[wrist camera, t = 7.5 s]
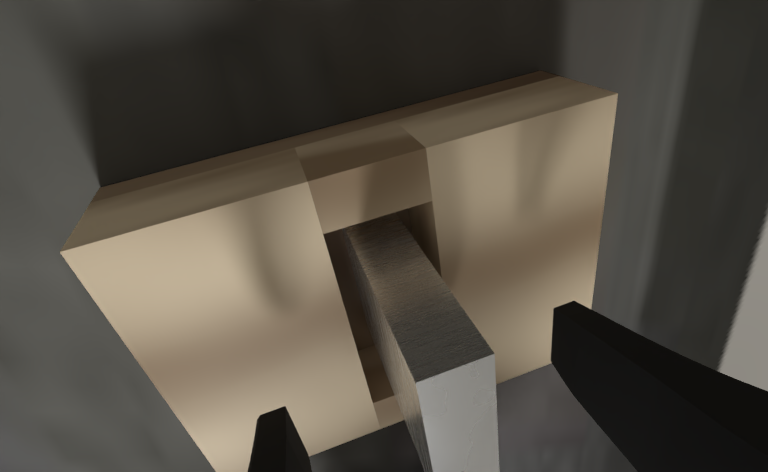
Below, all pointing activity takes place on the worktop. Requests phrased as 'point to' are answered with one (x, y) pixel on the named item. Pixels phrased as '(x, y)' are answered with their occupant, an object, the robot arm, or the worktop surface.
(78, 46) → the worktop surface
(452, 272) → the slotted tan block
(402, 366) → the silver rectangular block
